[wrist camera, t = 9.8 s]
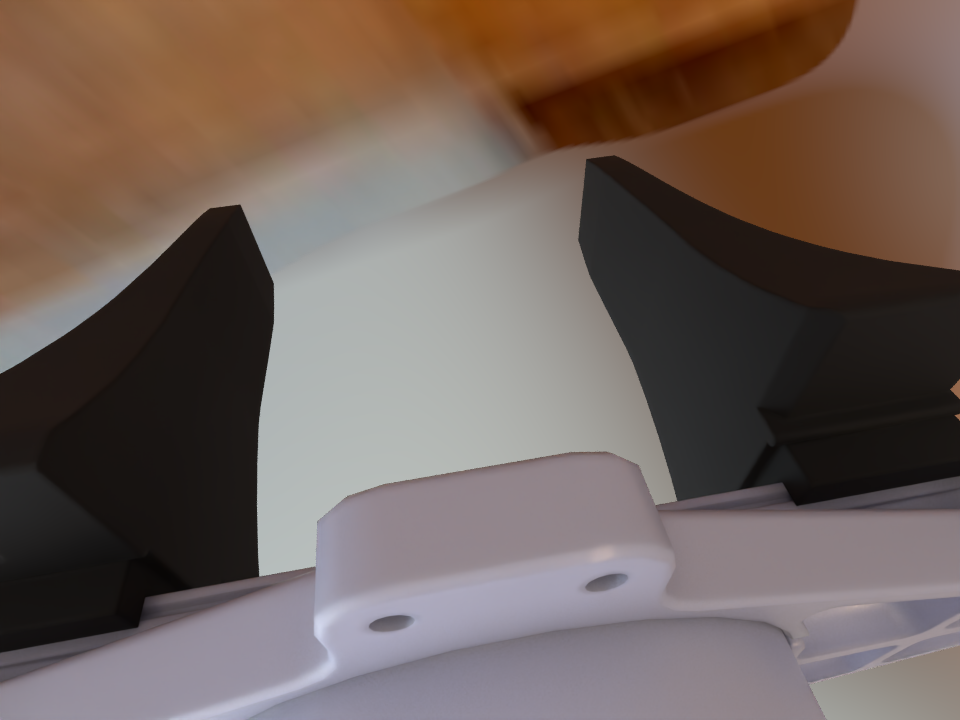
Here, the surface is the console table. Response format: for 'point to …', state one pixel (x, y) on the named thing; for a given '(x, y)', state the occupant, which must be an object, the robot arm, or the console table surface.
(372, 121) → the console table surface
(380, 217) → the console table surface
